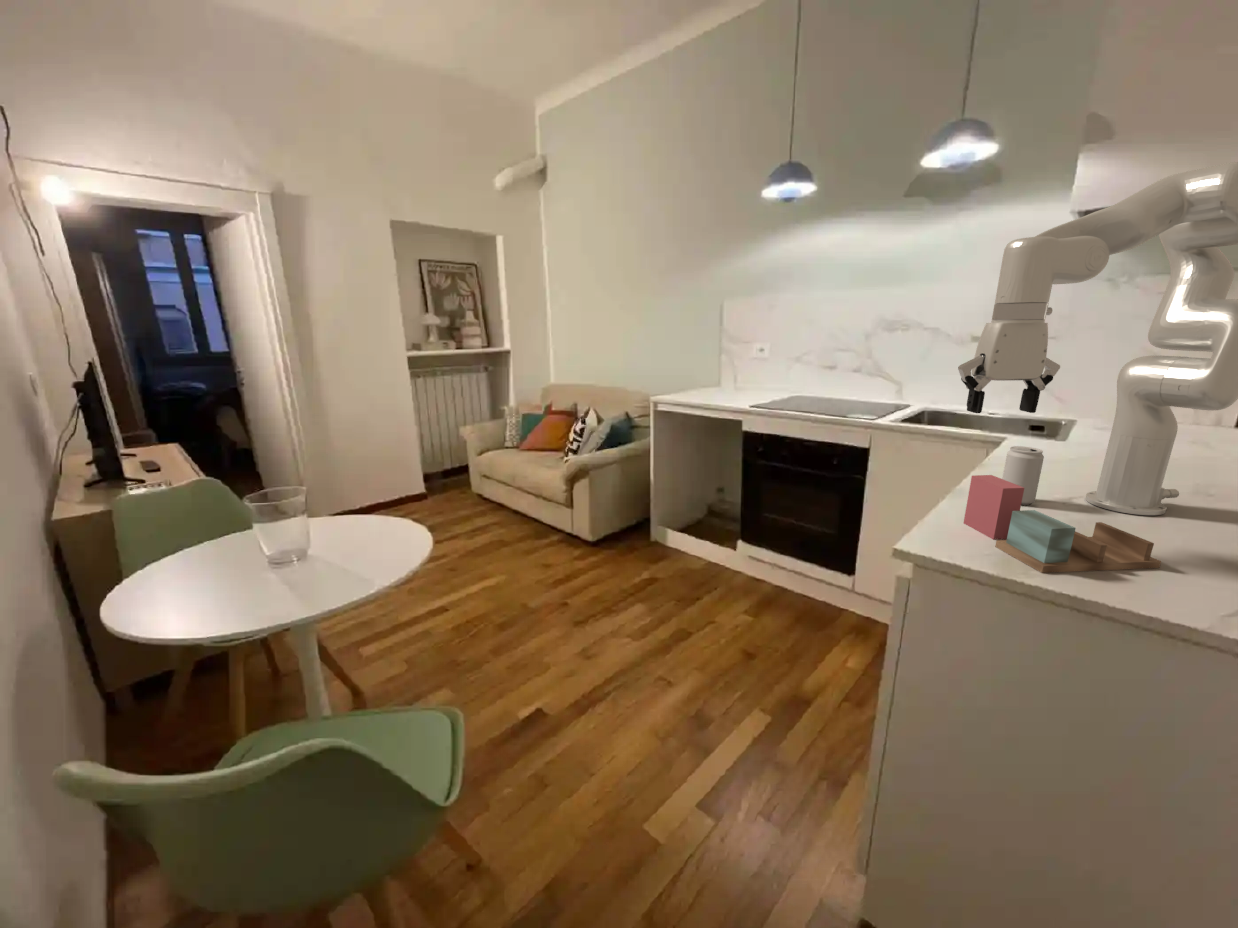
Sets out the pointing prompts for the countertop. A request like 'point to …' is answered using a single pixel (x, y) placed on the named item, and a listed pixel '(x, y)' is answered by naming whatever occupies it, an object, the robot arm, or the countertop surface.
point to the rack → (1073, 546)
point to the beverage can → (1024, 470)
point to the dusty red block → (992, 505)
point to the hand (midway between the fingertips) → (1000, 411)
